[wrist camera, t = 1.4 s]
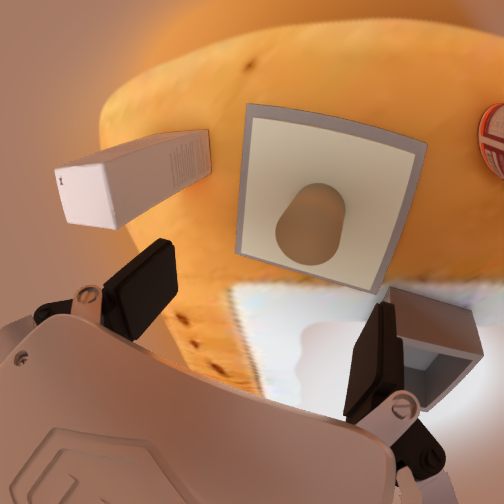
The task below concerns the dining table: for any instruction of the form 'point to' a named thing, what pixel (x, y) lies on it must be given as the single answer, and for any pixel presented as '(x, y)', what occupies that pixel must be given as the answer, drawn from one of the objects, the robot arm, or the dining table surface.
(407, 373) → the open grey box
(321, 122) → the mat
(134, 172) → the skincare box
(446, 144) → the dining table surface
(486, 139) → the pill bottle
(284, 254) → the lid
